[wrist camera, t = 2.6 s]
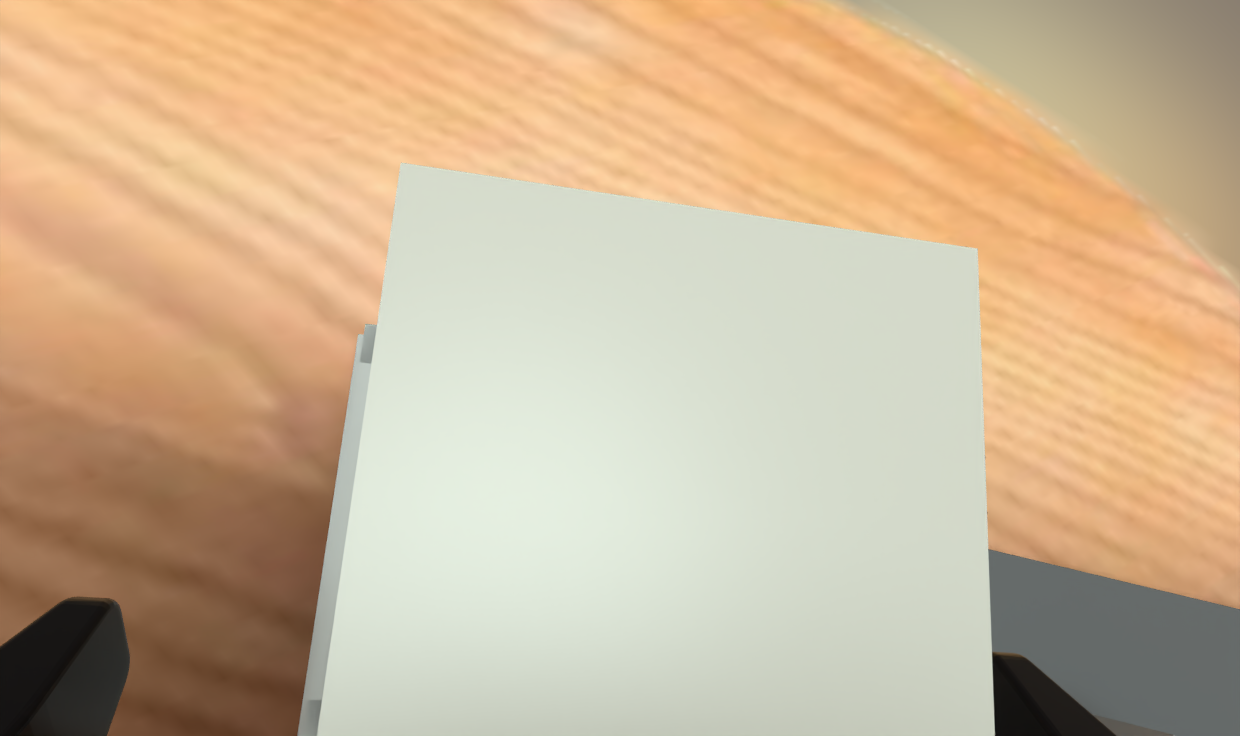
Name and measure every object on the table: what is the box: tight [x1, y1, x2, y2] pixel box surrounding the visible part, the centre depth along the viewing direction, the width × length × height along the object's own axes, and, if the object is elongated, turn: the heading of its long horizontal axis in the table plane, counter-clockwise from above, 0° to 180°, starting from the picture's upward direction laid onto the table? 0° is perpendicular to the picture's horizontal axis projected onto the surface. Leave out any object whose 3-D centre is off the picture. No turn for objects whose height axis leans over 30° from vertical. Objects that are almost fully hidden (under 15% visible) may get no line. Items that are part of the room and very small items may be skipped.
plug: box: [317, 163, 995, 736], centre depth 11 cm, size 4×4×12 cm
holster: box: [297, 324, 377, 736], centre depth 16 cm, size 8×8×4 cm
